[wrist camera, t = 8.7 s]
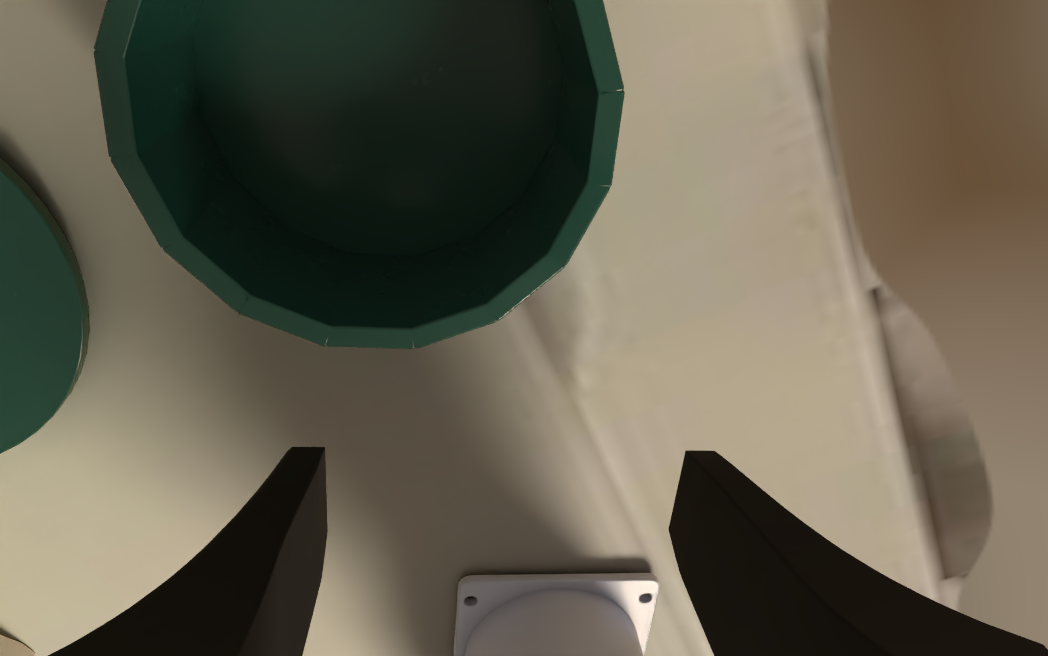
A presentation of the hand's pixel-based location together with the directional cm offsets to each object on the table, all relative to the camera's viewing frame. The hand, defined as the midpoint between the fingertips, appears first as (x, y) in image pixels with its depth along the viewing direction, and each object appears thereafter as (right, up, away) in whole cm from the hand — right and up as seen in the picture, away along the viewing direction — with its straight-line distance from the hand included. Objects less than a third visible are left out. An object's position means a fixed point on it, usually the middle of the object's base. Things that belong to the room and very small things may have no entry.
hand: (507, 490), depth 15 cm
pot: (-4, +10, +6) cm, 12 cm away
